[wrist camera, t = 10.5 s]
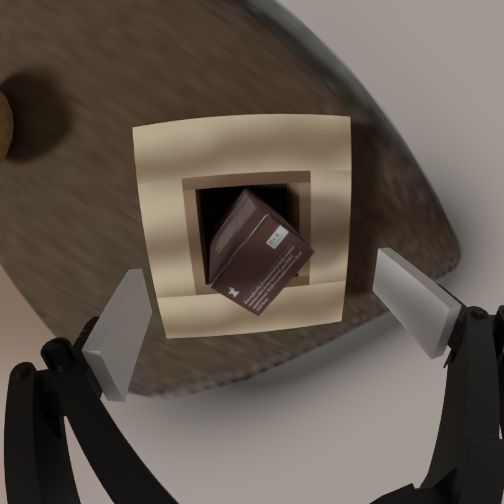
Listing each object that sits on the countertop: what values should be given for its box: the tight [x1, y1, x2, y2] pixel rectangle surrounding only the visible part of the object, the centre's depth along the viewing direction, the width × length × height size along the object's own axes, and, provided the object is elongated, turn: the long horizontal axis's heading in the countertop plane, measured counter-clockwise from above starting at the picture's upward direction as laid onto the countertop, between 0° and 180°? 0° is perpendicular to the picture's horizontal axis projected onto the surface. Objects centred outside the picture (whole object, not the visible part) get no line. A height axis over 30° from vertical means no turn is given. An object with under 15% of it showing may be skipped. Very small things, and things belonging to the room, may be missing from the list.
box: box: [209, 187, 314, 316], centre depth 23 cm, size 6×4×12 cm
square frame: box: [133, 114, 351, 338], centre depth 26 cm, size 20×18×5 cm
